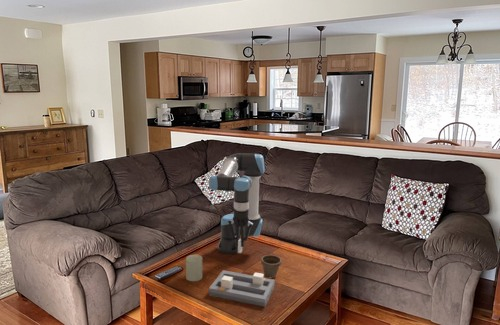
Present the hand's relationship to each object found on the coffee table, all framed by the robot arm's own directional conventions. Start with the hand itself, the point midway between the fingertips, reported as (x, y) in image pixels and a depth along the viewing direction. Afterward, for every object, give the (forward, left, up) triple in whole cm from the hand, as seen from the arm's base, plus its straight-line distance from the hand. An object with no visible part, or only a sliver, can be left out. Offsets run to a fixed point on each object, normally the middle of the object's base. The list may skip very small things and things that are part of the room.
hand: (240, 251), depth 193 cm
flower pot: (-21, +12, -22) cm, 33 cm away
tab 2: (-5, +9, -20) cm, 22 cm away
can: (-4, -28, -22) cm, 36 cm away
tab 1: (+4, -5, -20) cm, 21 cm away
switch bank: (0, +2, -22) cm, 22 cm away
